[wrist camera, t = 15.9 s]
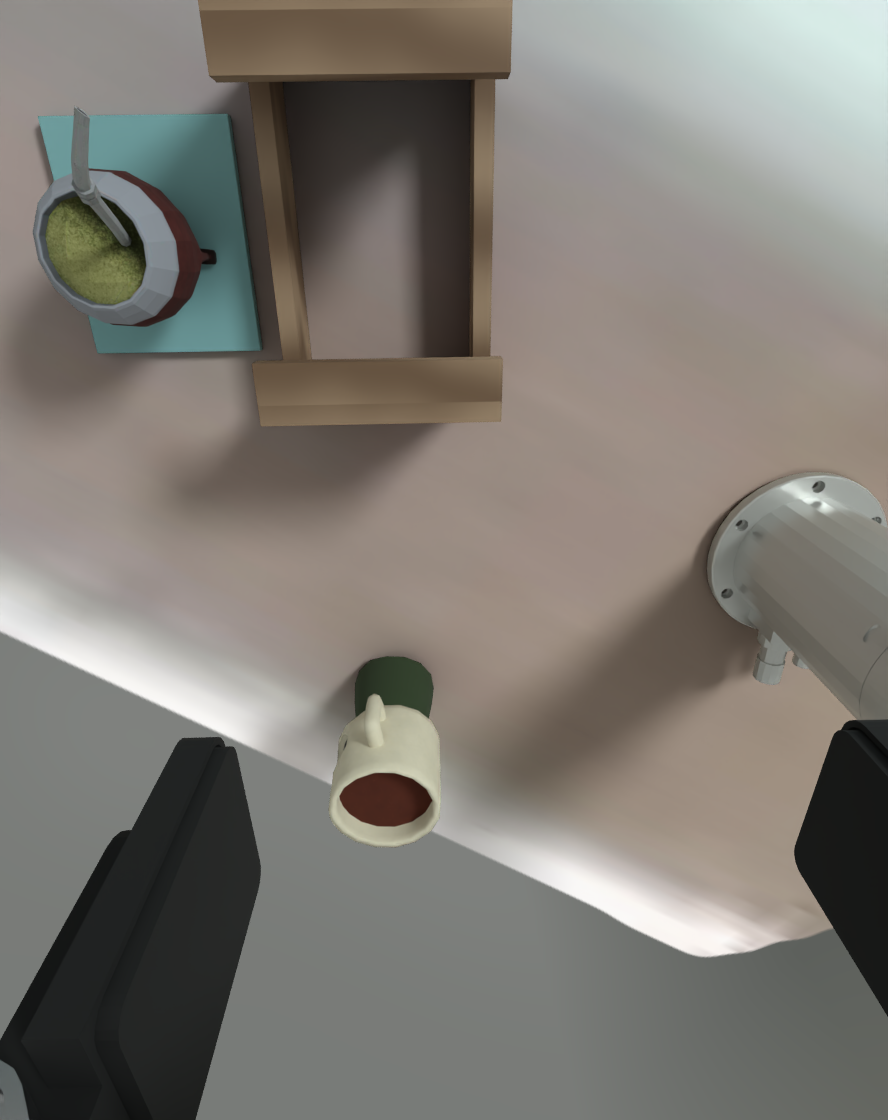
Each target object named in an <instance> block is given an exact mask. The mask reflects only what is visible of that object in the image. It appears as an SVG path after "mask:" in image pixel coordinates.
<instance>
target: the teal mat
mask: <svg viewBox="0 0 888 1120" xmlns="http://www.w3.org/2000/svg"><path fill="white" fill-rule="evenodd" d="M89 117H90V124H89V153H88V166H89V168H92V169H105V170H118V171H126V172H128V173H130V174H132V175H134V176H136V177H137V178H139V179H141V180H143V181H145V182H147V183H148V184H150V185H152V186H154V187H156V188H158V189H159V190H161V191H162V192H163V193H164V195H165V196H166V197H167V198H168V199H169V200H170V201H171V202H172V203H173V204H174V206H175V207H176V208H177V209H178V210H179V211H180V212H181V213H182V214H183V216H184V217H185V218H186V220H187V222H188V224H189V226H190V228H191V230H192V232H193V234H194V236H195V238H196V240H197V242H198V245H199V247H200V248H202V249H211V250H215V252H216V258H217V262H216V264H209V265H206V264H201V271H200V275H199V278H198V281H197V284H196V287H195V289H194V292H193V295H192V297H191V298H190V299H189V300H188V301H187V303H186V304H185V305H184V306H183V307H182V308H181V309H180V310H179V311H178V312H177V314H176V315H174V316H172V317H170V318H168V319H165V320H163V321H160V322H158V323H155V324H153V325H150V326H148V327H137V326H121V325H112V324H110V323H104V322H102V321H100V320H98V319H95V318H93V317H91V316H89V315H88V317H89V321H90V325H91V329H92V333H93V337H94V341H95V345H96V349H97V353H147V352H202V351H258V350H262V349H263V348H262V341H261V333H260V326H259V319H258V312H257V304H256V297H255V290H254V283H253V276H252V268H251V261H250V254H249V247H248V239H247V232H246V225H245V218H244V210H243V203H242V196H241V189H240V182H239V174H238V167H237V160H236V153H235V145H234V138H233V131H232V124H231V117H230V116H229V115H228V114H176V115H96V116H89ZM38 119H39V123H40V127H41V131H42V135H43V139H44V143H45V147H46V151H47V155H48V159H49V163H50V167H51V171H52V175H53V179H54V181H55V180H57V179H59V178H62V177H64V176H66V175H69V174H71V173H72V167H71V148H72V135H73V121H74V116H38Z"/></svg>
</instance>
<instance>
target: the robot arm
mask: <svg viewBox="0 0 888 1120" xmlns="http://www.w3.org/2000/svg"><path fill="white" fill-rule="evenodd" d="M707 576H708V583H709V586H710V588H711V591H712V594H713V596H714V597H715V599H716V600H717V602H718V603H719V604H720V606H721V607H722V608H723V609H724V610H725V611H726V612H727V613H728V614H729V616H731V617H732V618H734V619H735V620H737V621H738V622H740V623H741V624H744V625H746V626H749V627H751V628H754V629H758V630H759V633H758V637H757V640H758V642H759V643H760V644H761V648H760V652H759V653H758V655H757V659H756V662H755V666H754V670H753V676H754V678H755V679H756V680H758V681H759V682H761V683H765V684H769V685H775V684H778V683H779V682H780V679H781V676H782V672H783V669H784V665H785V657H786V653H787V651H791V650H792V651H793V652H794V656H793V659H792V662H793V664H794V665H796V666H797V667H800V668H805V669H810V670H811V671H812V672H813V673H814V674H815V676H816V677H817V678H818V679H819V680H820V681H821V682H822V683H823V684H824V685H825V686H826V687H827V688H828V689H829V690H830V691H831V693H832V694H833V695H834V696H835V697H836V698H837V699H838V700H839V701H840V702H841V703H842V704H843V705H844V706H845V707H846V708H847V710H848V711H849V712H850V713H851V714H852V715H853V716H854V717H855V718H856V719H857V720H852V721H848V722H847V723H845V724H844V726H843V727H842V729H841V730H838V731H837V732H836V733H835V734H834V736H833V738H832V741H831V743H830V746H829V749H828V752H827V755H826V758H825V761H824V764H823V767H822V770H821V772H820V775H819V778H818V781H817V784H816V787H815V790H814V793H813V796H812V798H811V801H810V804H809V807H808V810H807V813H806V816H805V819H804V822H803V824H802V827H801V830H800V833H799V836H798V839H797V842H796V845H795V849H794V855H795V861H796V864H797V867H798V870H799V872H800V873H801V875H802V877H803V878H804V880H805V882H806V883H807V885H808V887H809V888H810V890H811V892H812V893H813V895H814V896H815V898H816V900H817V901H818V903H819V905H820V906H821V908H822V910H823V911H824V913H825V915H826V916H827V918H828V919H829V921H830V923H831V924H832V926H833V928H834V929H835V931H836V933H837V934H838V936H839V937H840V939H841V941H842V942H843V944H844V946H845V947H846V949H847V950H848V952H849V954H850V955H851V957H852V959H853V960H854V962H855V963H856V965H857V967H858V968H859V970H860V972H861V973H862V975H863V977H864V978H865V980H866V982H867V983H868V985H869V986H870V988H871V990H872V991H873V993H874V995H875V996H876V998H877V999H878V1001H879V1003H880V1005H881V1006H882V1008H883V1009H884V1011H885V1013H886V1014H887V1016H888V526H887V521H886V517H885V513H884V511H883V509H882V507H881V505H880V503H879V501H878V500H877V499H876V498H875V497H874V496H873V495H872V493H871V492H870V491H869V490H867V489H866V488H864V487H863V486H861V485H859V484H858V483H856V482H854V481H852V480H850V479H848V478H846V477H843V476H840V475H836V474H832V473H827V472H806V473H800V474H793V475H790V476H787V477H784V478H781V479H778V480H775V481H773V482H771V483H769V484H767V485H765V486H763V487H761V488H759V489H757V490H756V491H755V492H753V493H752V494H750V495H749V496H748V497H746V498H745V499H743V500H742V501H741V502H740V503H739V504H738V505H737V506H736V507H735V508H734V509H733V510H732V511H731V512H730V513H729V515H728V516H727V517H726V519H725V520H724V521H723V523H722V524H721V525H720V527H719V529H718V531H717V533H716V535H715V537H714V539H713V541H712V544H711V547H710V551H709V554H708V562H707ZM260 875H261V865H260V859H259V855H258V851H257V846H256V841H255V836H254V831H253V827H252V822H251V818H250V813H249V809H248V804H247V799H246V795H245V790H244V785H243V781H242V776H241V772H240V767H239V762H238V758H237V753H236V750H235V748H234V747H225V744H224V741H223V740H222V739H221V738H220V737H206V738H183V739H181V740H180V741H179V742H178V743H177V745H176V746H175V748H174V750H173V752H172V754H171V756H170V758H169V760H168V762H167V764H166V765H165V767H164V769H163V771H162V773H161V775H160V777H159V779H158V781H157V783H156V785H155V786H154V788H153V790H152V792H151V794H150V796H149V798H148V800H147V802H146V803H145V805H144V807H143V809H142V811H141V813H140V815H139V817H138V819H137V821H136V823H135V824H134V826H133V828H132V830H126V831H122V832H120V833H119V834H117V835H116V836H115V837H114V838H113V839H112V841H111V842H110V844H109V845H108V846H107V848H106V850H105V852H104V853H103V855H102V857H101V859H100V860H99V862H98V864H97V866H96V868H95V870H94V871H93V873H92V875H91V877H90V879H89V880H88V882H87V884H86V886H85V888H84V889H83V891H82V893H81V895H80V897H79V899H78V900H77V902H76V904H75V906H74V908H73V910H72V911H71V913H70V915H69V917H68V918H67V920H66V922H65V924H64V926H63V928H62V929H61V931H60V933H59V935H58V937H57V938H56V940H55V942H54V944H53V946H52V947H51V949H50V951H49V953H48V955H47V956H46V958H45V960H44V962H43V964H42V966H41V967H40V969H39V971H38V973H37V975H36V976H35V978H34V980H33V982H32V983H31V985H30V987H29V989H28V991H27V993H26V994H25V996H24V998H23V1000H22V1002H21V1004H20V1006H19V1007H18V1009H17V1011H16V1013H15V1014H14V1016H13V1018H12V1020H11V1021H10V1023H9V1025H8V1027H7V1029H6V1031H5V1032H4V1034H3V1036H2V1038H1V1040H0V1120H195V1119H196V1116H197V1112H198V1108H199V1105H200V1101H201V1097H202V1094H203V1090H204V1086H205V1083H206V1079H207V1075H208V1072H209V1068H210V1064H211V1060H212V1057H213V1053H214V1050H215V1046H216V1042H217V1039H218V1035H219V1031H220V1028H221V1024H222V1021H223V1017H224V1013H225V1010H226V1006H227V1002H228V999H229V995H230V991H231V988H232V984H233V980H234V977H235V973H236V969H237V966H238V962H239V958H240V955H241V951H242V947H243V944H244V940H245V936H246V933H247V929H248V925H249V921H250V918H251V914H252V910H253V907H254V903H255V900H256V896H257V892H258V888H259V883H260Z"/></svg>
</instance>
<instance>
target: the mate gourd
mask: <svg viewBox="0 0 888 1120" xmlns="http://www.w3.org/2000/svg"><path fill="white" fill-rule="evenodd" d="M89 124H90V117H89V116H88V115H87V114H86V113H85V112H84V111H83V110H81V109H80V108H79V107H76V106H75V107H74V121H73V135H72V148H71V167H72V173H71V174H69V175H66V176H64V177H62V178H59V179H57V180H55V181H54V182H53V183H52V184H51V186H50V187H49V188H48V190H47V191H46V192H45V194H44V195H43V196H42V198H41V199H40V200H39V202H38V205H37V211H36V216H35V222H34V228H33V236H34V241H35V246H36V251H37V256H38V260H39V262H40V264H41V266H42V267H43V269H44V271H45V273H46V274H47V276H48V278H49V280H50V281H51V283H52V285H53V287H54V288H55V289H56V290H57V291H58V292H59V293H60V294H61V295H62V296H63V297H64V298H65V299H66V300H67V301H68V302H69V303H71V304H72V305H73V306H74V307H75V308H76V309H77V310H78V311H80V312H82V313H85V314H87V315H89V316H91V317H93V318H95V319H98V320H100V321H102V322H104V323H110V324H112V325H121V326H137V327H148V326H150V325H153V324H155V323H158V322H160V321H163V320H165V319H168V318H170V317H172V316H174V315H176V314H177V312H178V311H179V310H180V309H181V308H182V307H183V306H184V305H185V304H186V303H187V301H188V300H189V299H190V298H191V297H192V295H193V292H194V289H195V287H196V284H197V281H198V278H199V275H200V271H201V264H206V265H209V264H216V262H217V258H216V252H215V250H211V249H202V248H200V247H199V245H198V242H197V240H196V238H195V236H194V234H193V232H192V230H191V228H190V226H189V224H188V222H187V220H186V218H185V217H184V216H183V214H182V213H181V212H180V211H179V210H178V209H177V208H176V207H175V206H174V204H173V203H172V202H171V201H170V200H169V199H168V198H167V197H166V196H165V195H164V193H163V192H162V191H161V190H159V189H158V188H156V187H154V186H152V185H150V184H148V183H147V182H145V181H143V180H141V179H139V178H137V177H136V176H134V175H132V174H130V173H128V172H126V171H118V170H105V169H92V168H89V166H88V153H89Z"/></svg>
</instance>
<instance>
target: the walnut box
mask: <svg viewBox="0 0 888 1120" xmlns="http://www.w3.org/2000/svg"><path fill="white" fill-rule="evenodd" d="M198 4H199V11H200V17H201V24H202V31H203V38H204V44H205V51H206V58H207V65H208V72H209V76H210V77H211V78H212V79H214V80H215V81H216V82H248V85H249V93H250V101H251V109H252V116H253V124H254V132H255V140H256V148H257V156H258V164H259V172H260V180H261V188H262V196H263V204H264V212H265V220H266V228H267V236H268V244H269V252H270V260H271V268H272V276H273V284H274V292H275V300H276V308H277V316H278V324H279V332H280V340H281V348H282V356H283V360H271V361H256V362H254V363H252V370H253V377H254V383H255V390H256V397H257V404H258V411H259V417H260V424H261V426H305V425H356V424H407V423H457V422H501V408H502V371H503V359H502V357H501V356H491V357H490V341H491V285H492V230H493V175H494V120H495V79H508V77H509V75H510V72H511V37H512V0H198ZM466 79H470V324H469V357H436V358H381V359H326V360H312V357H311V348H310V338H309V329H308V319H307V310H306V300H305V291H304V281H303V272H302V262H301V253H300V243H299V234H298V224H297V215H296V205H295V196H294V186H293V177H292V167H291V158H290V148H289V139H288V129H287V120H286V110H285V101H284V92H283V82H297V81H382V80H466Z"/></svg>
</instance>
